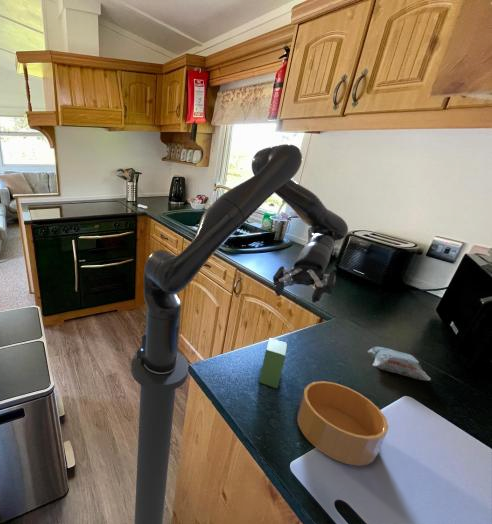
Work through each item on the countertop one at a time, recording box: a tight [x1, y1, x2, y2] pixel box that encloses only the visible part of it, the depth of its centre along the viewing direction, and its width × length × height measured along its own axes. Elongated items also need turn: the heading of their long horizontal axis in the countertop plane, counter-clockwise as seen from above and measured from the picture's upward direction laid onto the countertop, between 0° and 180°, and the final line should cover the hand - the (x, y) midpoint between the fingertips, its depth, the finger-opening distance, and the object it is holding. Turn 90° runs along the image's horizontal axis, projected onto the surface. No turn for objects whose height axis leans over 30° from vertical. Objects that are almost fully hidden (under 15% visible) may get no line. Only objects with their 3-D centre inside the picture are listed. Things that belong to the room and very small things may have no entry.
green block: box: [258, 337, 288, 389], centre depth 74 cm, size 4×6×10 cm
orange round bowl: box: [296, 380, 389, 467], centre depth 60 cm, size 14×14×7 cm
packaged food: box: [367, 346, 432, 382], centre depth 80 cm, size 9×12×5 cm
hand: (295, 296), depth 74 cm, fingers open, 8 cm apart
